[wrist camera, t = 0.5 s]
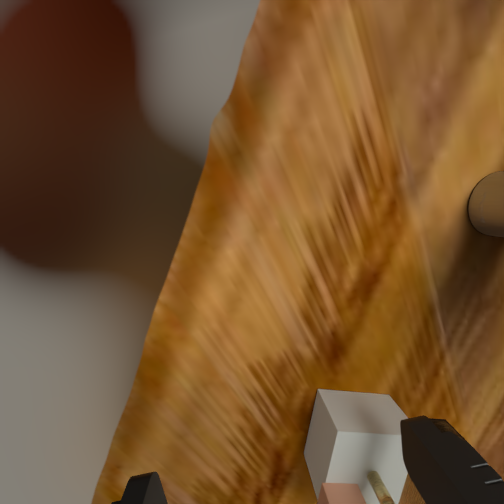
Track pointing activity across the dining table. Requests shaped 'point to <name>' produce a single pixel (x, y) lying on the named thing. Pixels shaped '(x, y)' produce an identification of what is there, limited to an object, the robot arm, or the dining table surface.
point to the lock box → (356, 442)
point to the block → (340, 494)
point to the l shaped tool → (410, 496)
